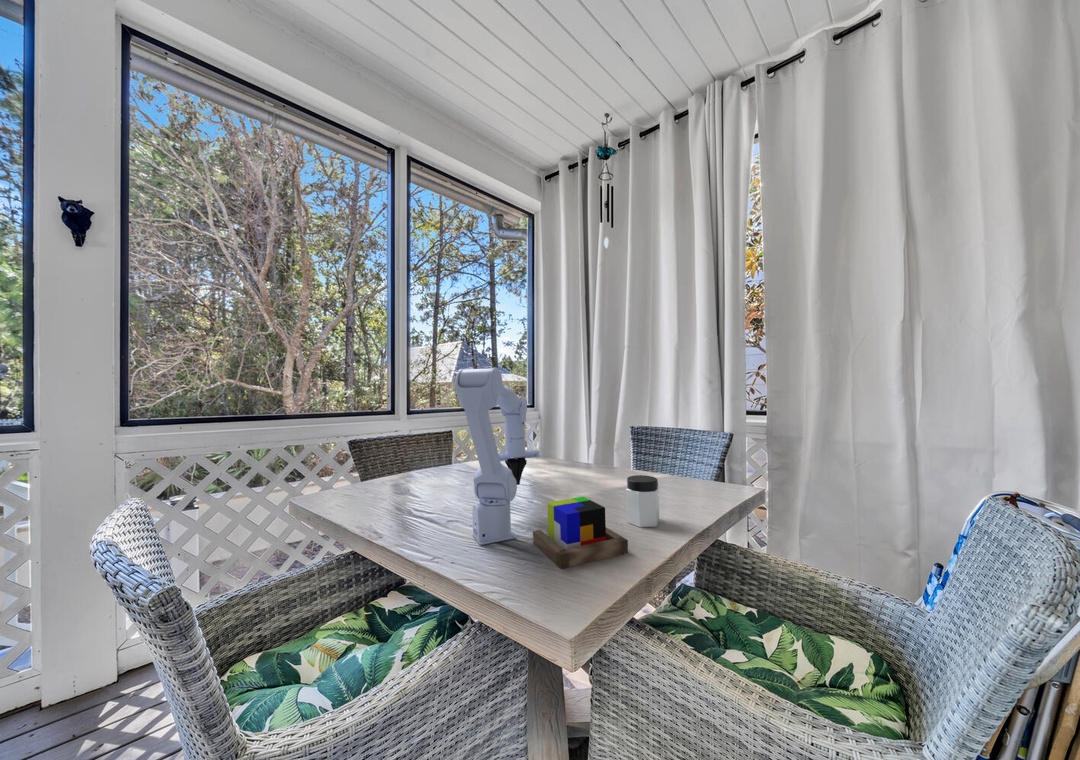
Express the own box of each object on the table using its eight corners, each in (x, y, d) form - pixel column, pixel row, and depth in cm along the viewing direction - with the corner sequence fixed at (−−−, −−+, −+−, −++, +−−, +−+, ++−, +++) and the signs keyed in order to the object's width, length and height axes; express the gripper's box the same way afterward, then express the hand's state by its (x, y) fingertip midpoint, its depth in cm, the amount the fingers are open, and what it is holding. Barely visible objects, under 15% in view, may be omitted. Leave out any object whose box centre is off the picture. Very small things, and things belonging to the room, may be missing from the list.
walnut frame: (560, 568, 86) (560, 554, 86) (533, 543, 100) (532, 531, 100) (628, 553, 93) (627, 539, 93) (593, 531, 107) (593, 519, 107)
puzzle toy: (567, 559, 91) (566, 514, 91) (548, 543, 100) (547, 502, 100) (606, 550, 95) (605, 507, 95) (584, 536, 104) (583, 496, 104)
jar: (666, 523, 111) (665, 479, 111) (646, 530, 106) (645, 484, 106) (640, 514, 118) (639, 473, 118) (620, 521, 114) (619, 477, 114)
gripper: (532, 434, 127) (533, 478, 127) (487, 438, 121) (488, 484, 121) (541, 436, 120) (543, 483, 120) (494, 441, 114) (495, 489, 114)
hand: (516, 484), depth 120 cm, fingers closed
